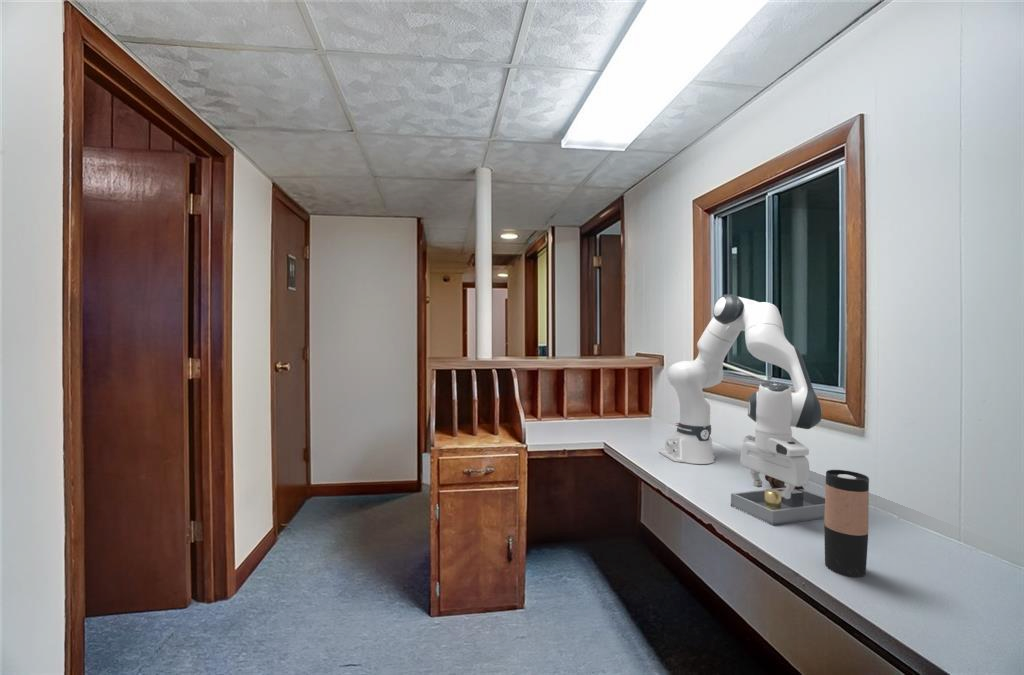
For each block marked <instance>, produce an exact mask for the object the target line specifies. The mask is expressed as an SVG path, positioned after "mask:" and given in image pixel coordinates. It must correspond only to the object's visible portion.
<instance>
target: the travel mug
mask: <svg viewBox="0 0 1024 675" xmlns="http://www.w3.org/2000/svg"><path fill="white" fill-rule="evenodd" d="M869 487H870V477H869V476H868V475H866V474H863V473H860V472H855V471H852V470H844V469H827V470H826V472H825V492H824V493H825V495H824V497H825V518H823V519H824V522H823V523H824V525H823V527H824V530H823V531H824V534H823V536H824V564H825V567H826V566H827V567H828V568H827V567H826V568H827V569H829V570H830V569H831V571H832V570H833V571H832V572H834V573H836V574H839V575H842V576H845V575H846V576H845V577H850V576H851V577H852V578H860V577H864V576H866V572H867V562H868V561H867V558H868V543H869V516H870V515H869V511H870V509H869V508H870V506H869V505H870V504H869V503H870V501H869V500H870V499H869V496H870V493H869V492H870V490H869V489H870V488H869Z"/></svg>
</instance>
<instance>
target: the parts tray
mask: <svg viewBox="0 0 1024 675" xmlns="http://www.w3.org/2000/svg"><path fill="white" fill-rule="evenodd" d="M773 489H774V490H778V491H780V492H781V489H785V488H773ZM798 490H799V491H801V492H804V496H803V506H802V507H794V508H792V507H790V506H787V505H785V504H782V503H781V509H778V510H771V509H769V508H767V507H764V504H765V489H759V490H751V491H740V492H734V493H733V492H731V493H730V506H731V507H732V506H733V507H732V508H734V507H736V508H738V509H737V510H739V509H740V510H739V511H741V510H742V511H741V512H743V511H744V512H743V513H745V512H747V513H749V514H751V515H753V516H755V517H754V518H756V517H757V518H756V519H758V518H759V519H758V520H760V519H761V521H762V520H763V521H762V522H764V521H765V523H766V522H767V524H768V523H769V525H771V526H778V525H785V524H792V523H799V522H806V521H815V520H821V519H824V518H825V496H822V495H819V494H817V493H814V492H810V491H808V490H805V489H804V490H803V489H798ZM736 508H735V509H736ZM747 513H746V514H747ZM749 514H748V515H749ZM751 515H750V516H751ZM753 516H752V517H753Z"/></svg>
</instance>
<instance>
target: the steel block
mask: <svg viewBox="0 0 1024 675" xmlns="http://www.w3.org/2000/svg"><path fill="white" fill-rule="evenodd" d="M784 490H785V489H781V491H784ZM803 496H804V492H801V491H799V490H796V489H793V490H792V492H791V498H790V499H785V498H782V497H781V503H782V504H785V505H787V506H790V507H792V508H794V507H802V506H803Z"/></svg>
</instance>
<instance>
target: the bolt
mask: <svg viewBox="0 0 1024 675" xmlns="http://www.w3.org/2000/svg"><path fill="white" fill-rule="evenodd" d="M764 475H765V474H764ZM764 479H765V480H766V482H768V484H769V485H770V486H771V488H772V489H777V488H786V486H785V482H783V481H781V480H778V479H775V478H773V477H770V476H767V475H765V476H764ZM794 489H796V490H798V489H803V490H805V489H804V486H795V488H794Z"/></svg>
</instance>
